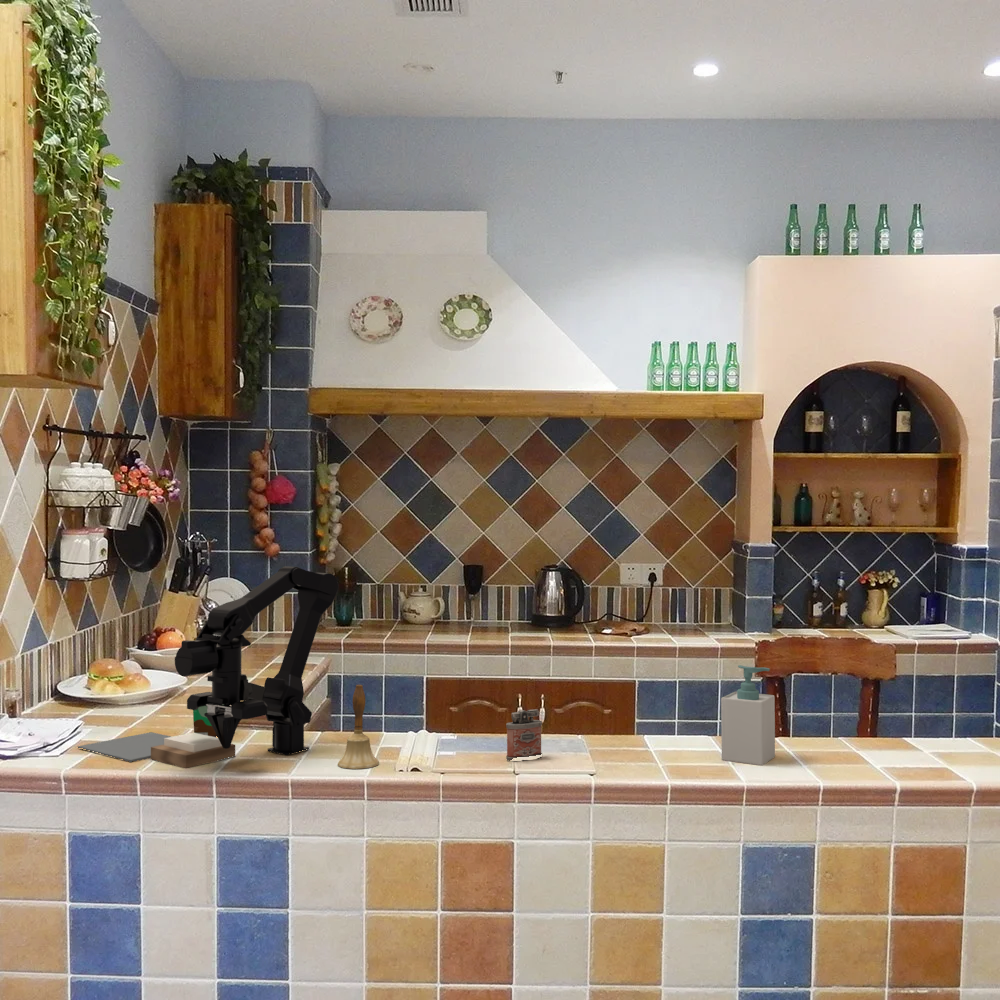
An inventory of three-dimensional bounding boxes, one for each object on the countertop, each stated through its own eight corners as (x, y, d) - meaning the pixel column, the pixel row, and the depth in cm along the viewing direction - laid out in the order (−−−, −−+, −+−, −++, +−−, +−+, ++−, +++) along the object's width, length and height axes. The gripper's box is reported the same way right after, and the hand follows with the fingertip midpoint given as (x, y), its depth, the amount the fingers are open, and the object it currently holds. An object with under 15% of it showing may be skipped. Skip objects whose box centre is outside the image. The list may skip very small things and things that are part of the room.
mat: (204, 746, 216) (204, 743, 216) (130, 762, 202) (130, 759, 202) (151, 734, 228) (151, 732, 228) (77, 748, 214) (77, 746, 214)
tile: (222, 746, 205) (222, 738, 205) (193, 752, 200) (193, 744, 200) (192, 739, 211) (193, 732, 212) (164, 745, 206) (164, 738, 206)
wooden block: (235, 756, 207) (235, 744, 207) (185, 768, 197) (186, 755, 197) (199, 748, 214) (200, 736, 214) (150, 759, 204) (150, 747, 205)
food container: (216, 742, 220) (216, 697, 220) (190, 741, 221) (191, 696, 221) (241, 731, 232) (241, 688, 232) (217, 729, 233) (217, 687, 233)
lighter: (510, 762, 202) (510, 713, 202) (503, 759, 205) (503, 710, 205) (545, 758, 205) (545, 709, 206) (537, 754, 208) (537, 707, 209)
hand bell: (339, 759, 204) (339, 682, 205) (380, 759, 205) (380, 681, 205) (335, 770, 196) (336, 688, 196) (378, 769, 197) (378, 688, 197)
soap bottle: (763, 766, 199) (763, 670, 199) (721, 760, 204) (720, 667, 204) (776, 757, 206) (775, 665, 207) (734, 752, 211) (734, 662, 211)
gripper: (288, 669, 200) (288, 747, 200) (230, 661, 211) (229, 735, 211) (244, 676, 191) (243, 758, 191) (185, 667, 203) (185, 744, 202)
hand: (226, 748), depth 199 cm, fingers closed
